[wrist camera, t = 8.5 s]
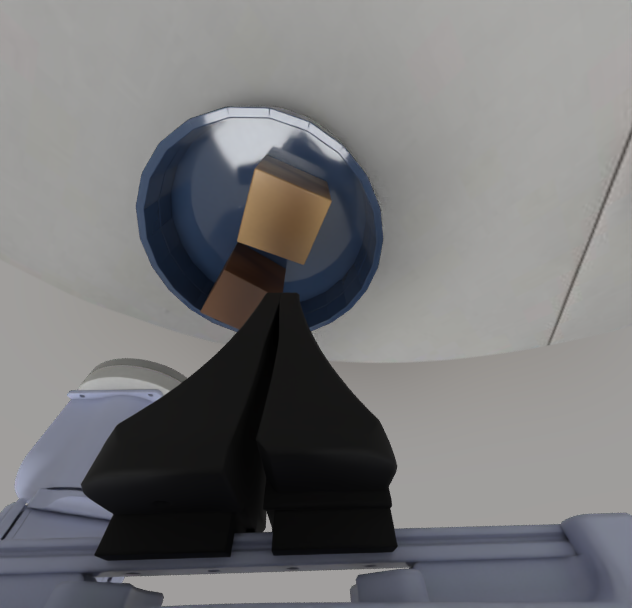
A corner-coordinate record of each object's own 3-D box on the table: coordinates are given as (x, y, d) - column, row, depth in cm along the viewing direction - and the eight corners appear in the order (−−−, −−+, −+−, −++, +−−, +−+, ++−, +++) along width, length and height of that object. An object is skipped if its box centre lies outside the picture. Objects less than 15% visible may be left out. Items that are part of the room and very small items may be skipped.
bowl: (198, 304, 23) (181, 337, 19) (132, 103, 14) (82, 103, 11) (357, 304, 23) (365, 336, 20) (386, 108, 15) (407, 109, 11)
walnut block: (216, 280, 21) (199, 312, 17) (238, 240, 19) (223, 269, 15) (261, 302, 22) (253, 336, 19) (286, 268, 20) (282, 299, 17)
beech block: (249, 216, 18) (236, 242, 14) (265, 153, 15) (254, 167, 12) (304, 237, 19) (304, 265, 15) (327, 181, 16) (332, 200, 13)
